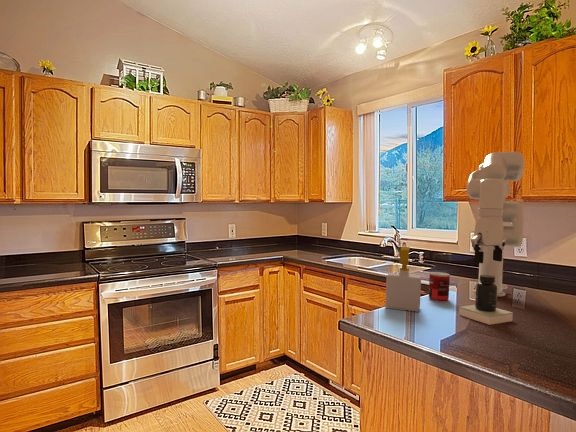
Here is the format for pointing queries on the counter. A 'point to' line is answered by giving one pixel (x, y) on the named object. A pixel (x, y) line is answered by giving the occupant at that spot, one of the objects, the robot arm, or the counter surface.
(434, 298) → the canned food
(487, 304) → the supplement bottle
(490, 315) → the plate
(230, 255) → the counter surface
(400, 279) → the soap bottle
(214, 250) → the counter surface
